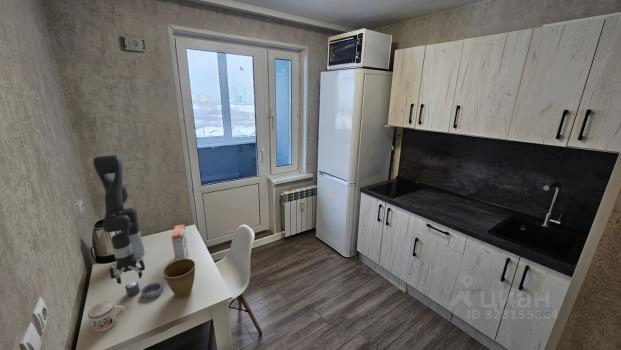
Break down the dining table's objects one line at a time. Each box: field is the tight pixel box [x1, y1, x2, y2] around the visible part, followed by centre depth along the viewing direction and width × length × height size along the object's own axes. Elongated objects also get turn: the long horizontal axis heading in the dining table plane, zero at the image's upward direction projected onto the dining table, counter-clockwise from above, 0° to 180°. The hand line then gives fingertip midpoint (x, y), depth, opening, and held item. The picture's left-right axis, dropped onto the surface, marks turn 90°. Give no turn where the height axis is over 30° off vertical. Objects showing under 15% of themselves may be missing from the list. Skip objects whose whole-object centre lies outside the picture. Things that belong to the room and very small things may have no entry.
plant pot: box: [162, 258, 196, 299], centre depth 132 cm, size 15×15×16 cm
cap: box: [124, 280, 141, 298], centre depth 133 cm, size 6×6×5 cm
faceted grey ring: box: [140, 281, 164, 300], centre depth 134 cm, size 10×10×3 cm
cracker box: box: [171, 224, 189, 261], centre depth 159 cm, size 14×6×21 cm, turn 19°
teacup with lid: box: [87, 300, 124, 333], centre depth 114 cm, size 12×9×12 cm
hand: (130, 280), depth 131 cm, fingers open, 8 cm apart
